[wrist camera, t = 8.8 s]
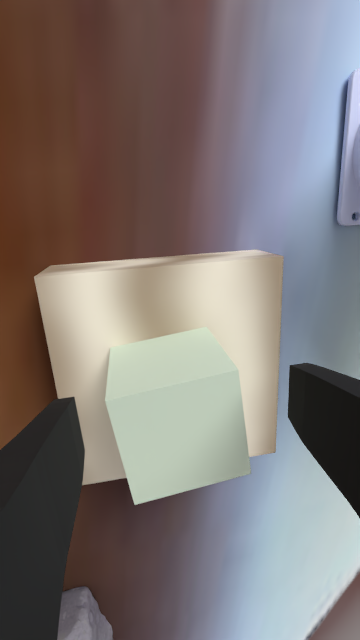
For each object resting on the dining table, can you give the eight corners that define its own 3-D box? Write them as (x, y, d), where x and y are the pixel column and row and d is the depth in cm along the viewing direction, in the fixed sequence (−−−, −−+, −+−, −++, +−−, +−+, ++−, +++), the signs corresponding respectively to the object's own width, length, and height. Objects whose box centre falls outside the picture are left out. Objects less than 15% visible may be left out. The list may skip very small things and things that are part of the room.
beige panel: (253, 248, 20) (283, 256, 17) (251, 415, 24) (275, 452, 20) (51, 264, 19) (34, 276, 15) (83, 440, 22) (75, 486, 19)
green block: (206, 326, 17) (238, 369, 12) (219, 408, 19) (251, 473, 14) (110, 347, 16) (104, 400, 12) (131, 429, 18) (134, 505, 13)
